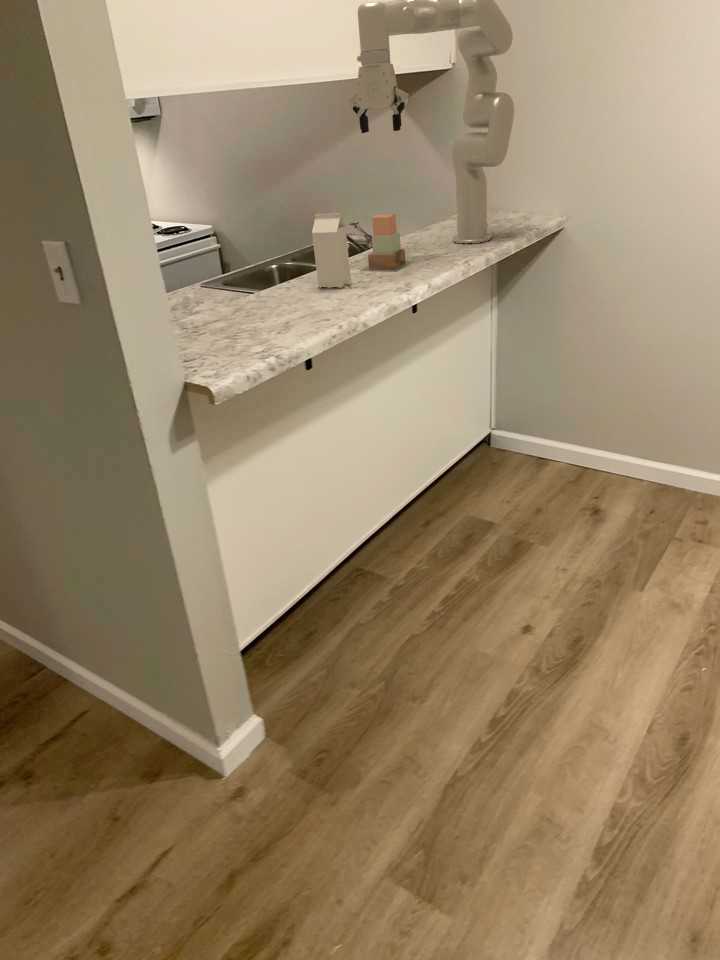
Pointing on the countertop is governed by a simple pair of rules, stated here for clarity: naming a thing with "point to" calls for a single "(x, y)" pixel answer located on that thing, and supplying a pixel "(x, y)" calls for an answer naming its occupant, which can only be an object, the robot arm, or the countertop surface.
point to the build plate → (387, 269)
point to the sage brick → (386, 244)
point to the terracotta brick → (384, 224)
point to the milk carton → (331, 250)
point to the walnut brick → (386, 260)
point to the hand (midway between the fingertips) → (380, 131)
